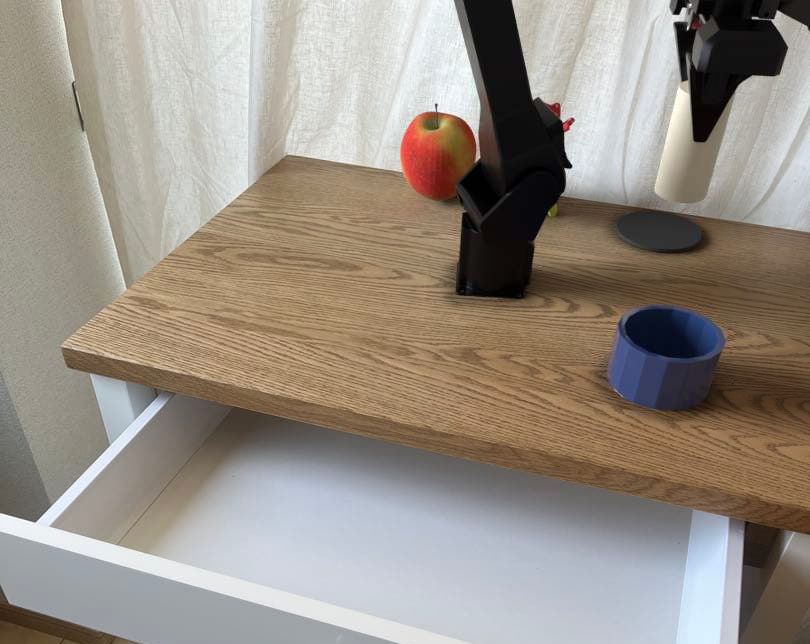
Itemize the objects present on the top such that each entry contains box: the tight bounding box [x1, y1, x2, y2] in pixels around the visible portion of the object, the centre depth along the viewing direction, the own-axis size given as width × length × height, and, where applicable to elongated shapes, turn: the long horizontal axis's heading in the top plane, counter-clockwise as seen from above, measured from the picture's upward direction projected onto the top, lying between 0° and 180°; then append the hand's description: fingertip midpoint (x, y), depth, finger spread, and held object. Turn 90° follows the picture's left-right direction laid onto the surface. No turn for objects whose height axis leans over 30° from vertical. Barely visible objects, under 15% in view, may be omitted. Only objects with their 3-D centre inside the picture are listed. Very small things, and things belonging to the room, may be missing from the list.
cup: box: [606, 304, 727, 411], centre depth 67 cm, size 8×8×5 cm
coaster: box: [615, 210, 703, 254], centre depth 88 cm, size 9×9×1 cm
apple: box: [399, 102, 478, 201], centre depth 90 cm, size 8×8×10 cm
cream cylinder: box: [654, 81, 737, 204], centre depth 73 cm, size 5×5×12 cm
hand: (695, 130), depth 74 cm, fingers closed on cream cylinder, 5 cm apart
